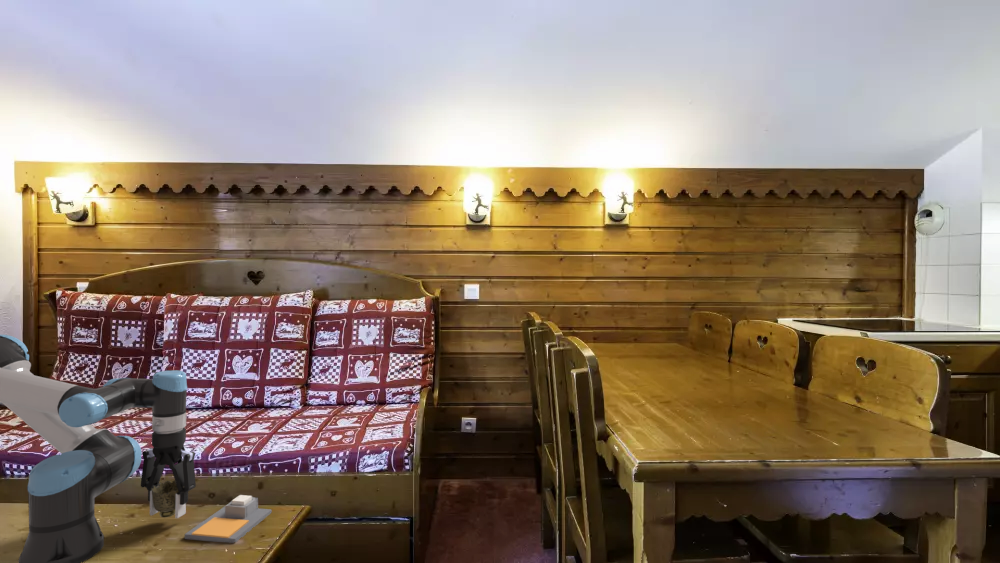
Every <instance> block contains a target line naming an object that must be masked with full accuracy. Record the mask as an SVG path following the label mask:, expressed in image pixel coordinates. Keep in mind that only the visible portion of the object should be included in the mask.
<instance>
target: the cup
mask: <svg viewBox="0 0 1000 563" xmlns="http://www.w3.org/2000/svg"><path fill="white" fill-rule="evenodd" d="M158 485H159V486H157V488H156V487H155V486H154V487H153V488H152V489H151V490H152V498H153V505H154V508H155V509H156V510H157V511H159V512H158V513H159V516H160V517H161V518H170V517H172V516H174V515H175V504H176V493H178V492H179V491H178V488H177V485H176V482H175V479H174V480H173V481H172V482H171V481H170V480H166V481H165V482H159V484H158ZM183 487H184V486H183Z"/></svg>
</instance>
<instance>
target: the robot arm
mask: <svg viewBox="0 0 1000 563" xmlns="http://www.w3.org/2000/svg"><path fill="white" fill-rule="evenodd" d="M28 352H29V350H28V346H26V344H25V343H24V342H23V341H22V340H21V339H19V338H17V337H15V336H12V335H8V334H1V333H0V403H1V404H3V405H4V406H5V407H7V408H8V409H9V410H10V411H11V412H12V413H14V415H16V416H17V417H18V418H19V419H21V420H22V421H23V422H24V423H25V424H26V425H28V427H29V428H31V429H32V430H33V431H34V432H36V434H38V435H39V436H40V437H41V438H43V440H45V441H46V442H47V443H48V444H50V445H51V446H52V447H53V448H55V450H56V451H58V452H59V453H60V454H54V455H51V456H50V457H47V458H45V459H43V460H41V461H39V463H37V464H35V465H34V466H33V467H32V469H31V470H30V472H29V476H28V483H27V498H28V499H27V500H28V501H27V502H28V535H27V537H26V540H25V543H24V546H23V549H22V552H21V553H20V555H19V557H18V563H81V562H82V563H84V562H86V561H88V560H90V559H91V558H92V557H94V556H95V555H97V554H98V553H99V552H100V551H101V550H102V549H104V546H105V537H104V533H103V532H102V530H101V527H100V523H99V522H98V520H97V518H96V517H95V498H96V497H98V496H100V495H102V494H103V493H105V492H107V491H109V490H110V489H112V488H113V487H115V486H117V485H119V484H121V483H123V482H125V481H126V480H127V479H129V478H130V477H131V476H133V475H134V474H135V473H136V472H137V470H138V469H139V468H140V465H141V462H142V463H143V464H142V470H141V471H142V472H141V480H140V487H141V488H146V490H147V501H148V502H149V516H154V515H156V514H157V513H160V512H159V511H157V510H156V509H155V508H154V505H153V498H152V490H151V489H152V488H153V487H154V486H155V487H156V488H157V487H159V484H160V481H161V478H162V475H163V472H164V469H165V467H166V466H168V467H169V468H168V469H169V470H171V472H172V475H173V478H174V480H175V482H176V485H177V488H178V491H179V492H178V493H176V504H175V514H174V515H175V516H174V517H175V519H180V518H181V517H182V516H184V515H185V514H187V510H186V509H187V503H188V502H189V492H190V491H192V490H193V489H195V488H196V486H197V484H196V472H195V456H196V452H195V451H191V452H190V451H187V450H186V449H185V443H186V439H187V438H186V437H187V430H186V429H187V428H186V426H187V390H188V384H187V373H186V372H184V371H183V370H176V369H175V370H174V369H173V370H163V371H157V372H156V373H154V374H153V375H152V378H130V377H121V378H112V379H109V380H107V381H106V383H105V384H103V385H102V387H98V388H92V387H87V386H86V387H85V386H81V385H78V384H73V383H68V382H65V381H61V380H57V379H51V378H48V377H44V376H43V377H42V376H38V375H34V373H32V372H31V371H30V370H31V367H32V363H31V362H30V361H29V360H30V354H29V353H28ZM133 408H134V409H135V408H139V409H140V408H141V409H142V408H143V409H145V408H151V410H152V414H151V417H152V420H151V421H152V422H151V423H152V424H151V425H152V426H151V427H152V428H151V429H152V431H153V432H152V433H151V446H152V447H151V448H148V449H146V450H144V451H142V449H141V448H142V447H141V445H140V444H139V443H138V441H137V440H136V439H135V438H133V437H131V436H128V435H117V436H116V435H115V434H114V433H112V432H111V431H110V430H109V429H107V428H96V427H95V426H93V424H96V423H97V422H100V421H103V420H104V419H107V418H109V417H112V416H114V415H116V414H120V413H123V412H125V411H127V410H129V409H133ZM142 458H143V461H142ZM183 486H184V487H183Z"/></svg>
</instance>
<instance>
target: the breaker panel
mask: <svg viewBox="0 0 1000 563" xmlns="http://www.w3.org/2000/svg"><path fill="white" fill-rule="evenodd" d="M271 513H272V509H270V508H269V509H268V508H259V497H254V496H252V500H251V501H250V502H249V503H247V504H246V505H245V506H241V505H232V501H230V502H229V503H228V504H225V505H224V506H222V508H221V509H218V511H215V513H213V514H211V515H210V516H209V517H207V518H206V519H204V520H203V521H201V522H200V523H198V524H197V525H196V526H194V527H193V528H191V529H190V530H189V531H187V532H186V533H185V534H184V539H185V540H193V541H203V542H218V543H231V544H232V543H234V542H236V543H237V542H238V541H239V539H240V538H241V537H242V538H244V536H245V535H247V534H248V533H249V532H251V531H252V530H253V529H254V528H255V527H256V526H257V525H259V524H260V523H261V522H262V521H264V520H265V519H266V518H267V517H268V516H270V515H271ZM253 527H254V528H253ZM252 528H253V529H252ZM247 532H248V533H247ZM246 533H247V534H246ZM242 538H241V539H242ZM241 539H240V540H241ZM234 544H235V543H234Z"/></svg>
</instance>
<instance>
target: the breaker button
mask: <svg viewBox="0 0 1000 563" xmlns="http://www.w3.org/2000/svg"><path fill="white" fill-rule="evenodd" d="M252 497H253V495H245V494H239V495H238V496H236V497H235V498H234V499H232V500H231V502H232V505H241V506H245V505H246V504H247V503H249V502H250V501H251V500H252Z"/></svg>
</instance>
